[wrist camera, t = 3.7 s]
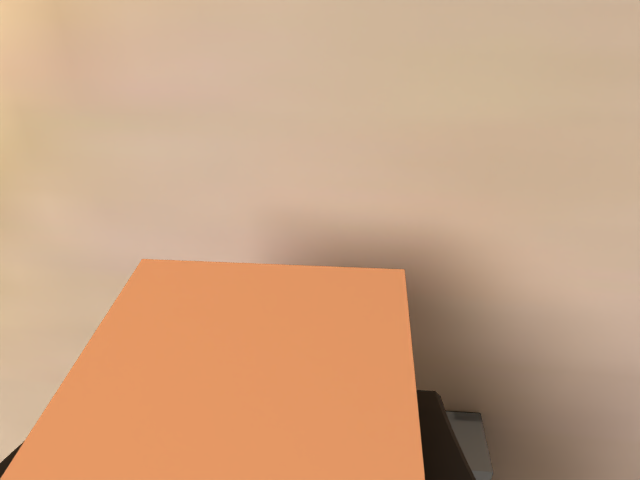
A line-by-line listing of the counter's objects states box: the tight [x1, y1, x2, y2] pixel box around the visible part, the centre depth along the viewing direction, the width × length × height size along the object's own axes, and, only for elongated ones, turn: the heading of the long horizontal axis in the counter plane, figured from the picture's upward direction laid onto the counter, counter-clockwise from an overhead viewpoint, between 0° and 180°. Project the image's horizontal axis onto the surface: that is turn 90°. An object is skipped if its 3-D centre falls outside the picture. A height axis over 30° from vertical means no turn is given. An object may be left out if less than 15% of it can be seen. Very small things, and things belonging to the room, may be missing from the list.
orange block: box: [0, 259, 425, 480], centre depth 9 cm, size 5×5×5 cm
